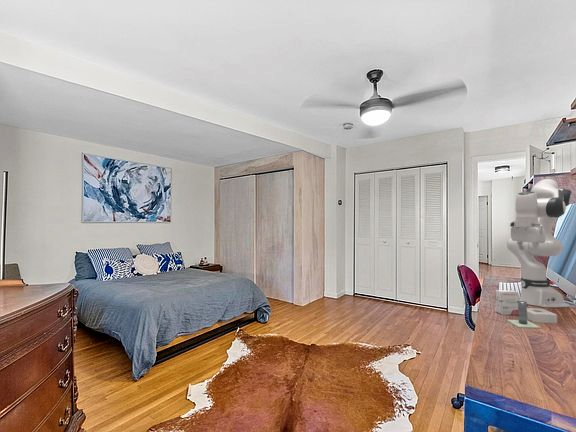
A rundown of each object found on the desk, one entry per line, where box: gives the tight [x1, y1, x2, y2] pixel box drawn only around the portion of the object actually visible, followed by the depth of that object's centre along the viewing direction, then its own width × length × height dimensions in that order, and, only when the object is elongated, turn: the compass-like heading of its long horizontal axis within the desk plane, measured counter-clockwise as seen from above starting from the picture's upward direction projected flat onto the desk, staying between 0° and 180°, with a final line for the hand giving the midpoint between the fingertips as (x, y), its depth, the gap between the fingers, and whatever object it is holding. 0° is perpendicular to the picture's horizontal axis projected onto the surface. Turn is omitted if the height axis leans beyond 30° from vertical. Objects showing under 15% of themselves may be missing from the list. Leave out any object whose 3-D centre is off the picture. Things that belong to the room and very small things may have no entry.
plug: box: [517, 301, 528, 325], centre depth 135 cm, size 3×3×10 cm
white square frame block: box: [527, 307, 558, 324], centre depth 142 cm, size 10×10×4 cm
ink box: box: [495, 289, 519, 316], centre depth 151 cm, size 9×5×12 cm, turn 84°
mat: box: [506, 319, 542, 330], centre depth 135 cm, size 9×9×1 cm
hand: (527, 251), depth 146 cm, fingers open, 8 cm apart
